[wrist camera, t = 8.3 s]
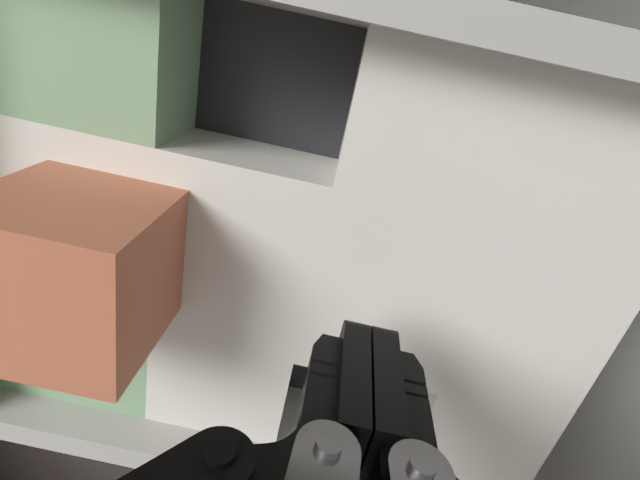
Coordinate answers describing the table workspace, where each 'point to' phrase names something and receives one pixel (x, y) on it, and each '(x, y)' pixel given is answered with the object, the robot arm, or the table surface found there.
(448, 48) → the box
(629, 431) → the table surface
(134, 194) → the block
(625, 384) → the table surface
